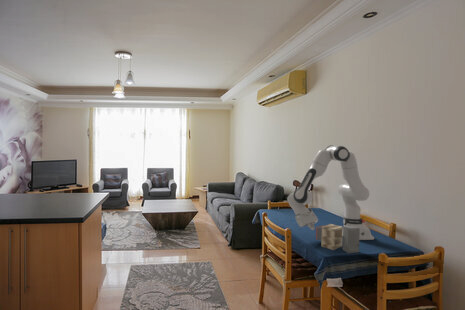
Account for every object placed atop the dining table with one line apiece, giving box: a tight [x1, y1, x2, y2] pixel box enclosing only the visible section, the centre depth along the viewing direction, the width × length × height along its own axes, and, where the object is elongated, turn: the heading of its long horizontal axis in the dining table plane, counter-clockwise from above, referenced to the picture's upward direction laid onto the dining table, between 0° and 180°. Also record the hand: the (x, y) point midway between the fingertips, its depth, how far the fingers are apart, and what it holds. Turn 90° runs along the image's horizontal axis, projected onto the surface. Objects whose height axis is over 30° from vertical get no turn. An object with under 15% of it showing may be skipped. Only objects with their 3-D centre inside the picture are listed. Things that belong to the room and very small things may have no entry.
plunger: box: [315, 225, 324, 241], centre depth 208 cm, size 6×8×8 cm
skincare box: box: [341, 225, 360, 254], centre depth 195 cm, size 8×7×16 cm
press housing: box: [320, 223, 343, 251], centre depth 203 cm, size 9×11×14 cm
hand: (313, 229), depth 213 cm, fingers closed
